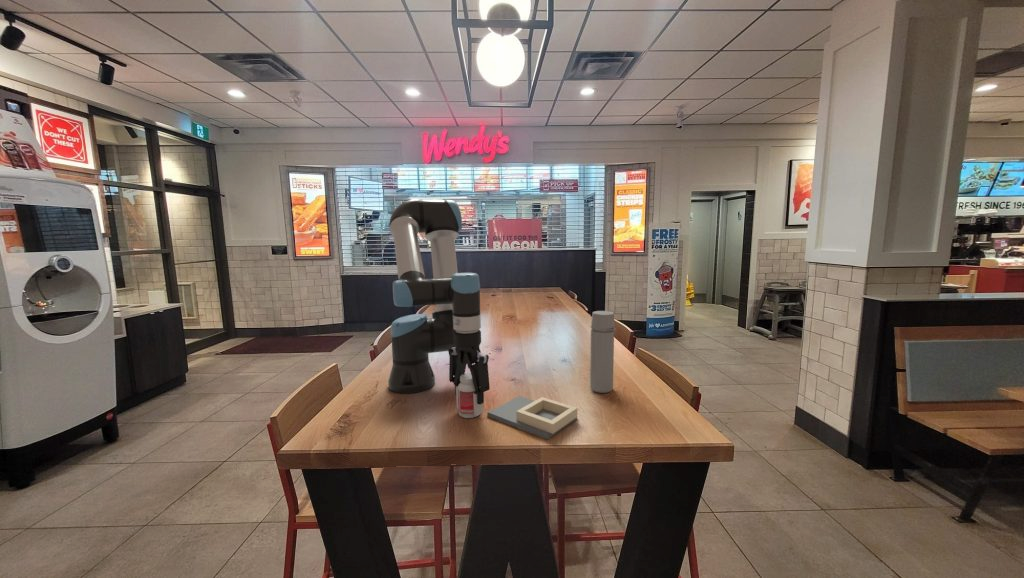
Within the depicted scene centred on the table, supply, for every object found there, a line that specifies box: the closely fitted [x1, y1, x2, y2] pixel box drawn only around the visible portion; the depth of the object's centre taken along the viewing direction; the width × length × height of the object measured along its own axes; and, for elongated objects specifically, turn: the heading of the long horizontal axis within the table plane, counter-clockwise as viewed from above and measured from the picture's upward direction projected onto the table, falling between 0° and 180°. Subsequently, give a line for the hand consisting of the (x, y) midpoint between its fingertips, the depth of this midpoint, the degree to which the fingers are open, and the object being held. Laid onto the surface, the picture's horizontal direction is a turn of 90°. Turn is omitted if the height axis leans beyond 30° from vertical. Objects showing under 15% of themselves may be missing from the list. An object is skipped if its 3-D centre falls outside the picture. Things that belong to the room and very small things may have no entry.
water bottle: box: [589, 310, 617, 394], centre depth 123 cm, size 9×8×25 cm
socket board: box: [487, 395, 578, 440], centre depth 105 cm, size 21×14×4 cm
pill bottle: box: [458, 372, 480, 419], centre depth 107 cm, size 6×6×11 cm
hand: (469, 410), depth 108 cm, fingers closed on pill bottle, 6 cm apart
